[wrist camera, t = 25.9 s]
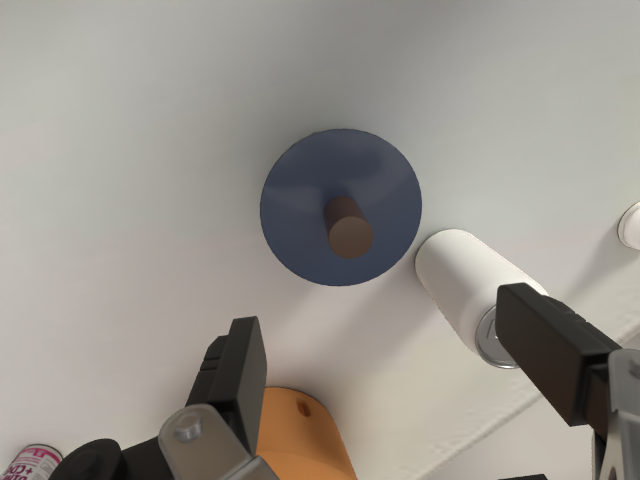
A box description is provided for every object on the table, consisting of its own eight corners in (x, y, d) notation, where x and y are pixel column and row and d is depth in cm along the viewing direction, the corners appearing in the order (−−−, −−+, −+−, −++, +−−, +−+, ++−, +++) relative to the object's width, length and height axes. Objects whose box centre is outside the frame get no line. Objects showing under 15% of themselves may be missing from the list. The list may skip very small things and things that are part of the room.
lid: (247, 140, 24) (230, 149, 18) (414, 117, 24) (450, 119, 18) (275, 289, 28) (269, 335, 22) (419, 269, 28) (450, 310, 22)
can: (470, 292, 35) (549, 377, 24) (407, 287, 35) (458, 371, 24) (488, 230, 33) (583, 292, 22) (421, 224, 33) (484, 284, 21)
